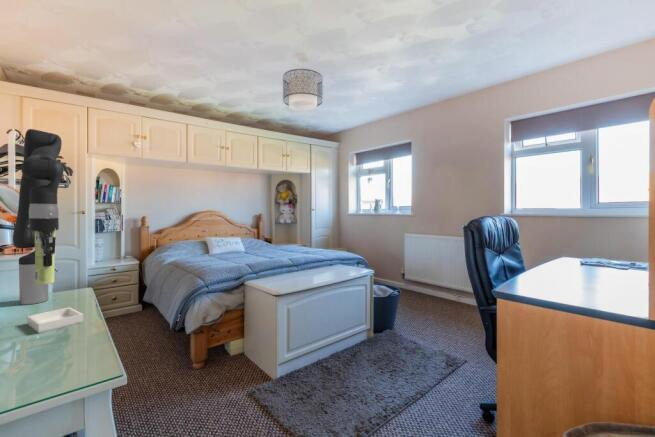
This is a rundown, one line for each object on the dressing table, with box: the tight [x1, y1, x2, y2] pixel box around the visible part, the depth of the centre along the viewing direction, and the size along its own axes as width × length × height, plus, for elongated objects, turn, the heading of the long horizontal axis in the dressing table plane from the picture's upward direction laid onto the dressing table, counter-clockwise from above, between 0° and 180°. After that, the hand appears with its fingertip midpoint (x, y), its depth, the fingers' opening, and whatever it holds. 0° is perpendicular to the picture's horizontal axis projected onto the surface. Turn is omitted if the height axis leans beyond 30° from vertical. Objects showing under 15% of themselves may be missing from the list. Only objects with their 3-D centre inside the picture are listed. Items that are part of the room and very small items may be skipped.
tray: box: [26, 306, 85, 334], centre depth 109 cm, size 14×12×3 cm
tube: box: [34, 228, 57, 285], centre depth 106 cm, size 6×5×20 cm
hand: (45, 265), depth 106 cm, fingers closed on tube, 5 cm apart
